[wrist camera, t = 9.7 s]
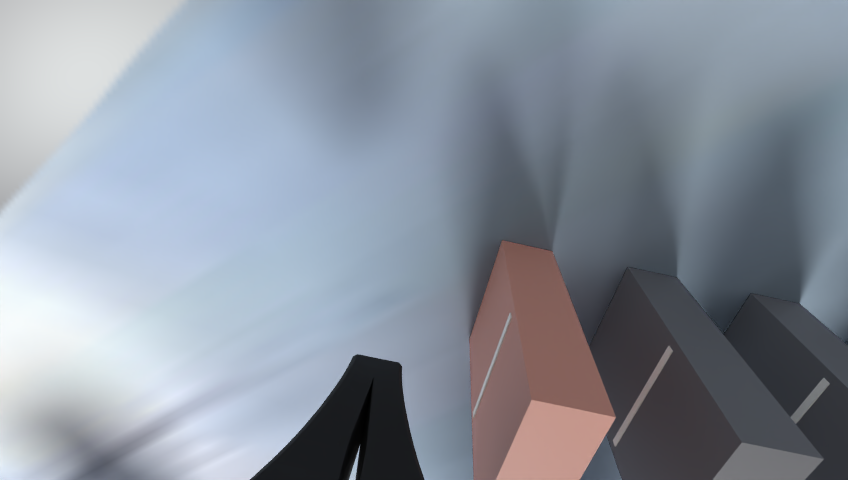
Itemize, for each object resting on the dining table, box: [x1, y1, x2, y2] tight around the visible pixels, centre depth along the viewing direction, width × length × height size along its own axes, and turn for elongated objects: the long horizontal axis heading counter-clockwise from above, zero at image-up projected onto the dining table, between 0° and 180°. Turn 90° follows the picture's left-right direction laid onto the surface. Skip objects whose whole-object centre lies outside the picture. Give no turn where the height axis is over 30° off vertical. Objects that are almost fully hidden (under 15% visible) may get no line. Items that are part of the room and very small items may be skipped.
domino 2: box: [724, 293, 848, 480], centre depth 15 cm, size 2×5×8 cm, turn 169°
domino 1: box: [589, 267, 824, 480], centre depth 15 cm, size 2×5×8 cm, turn 168°
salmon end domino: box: [469, 240, 616, 480], centre depth 15 cm, size 2×5×8 cm, turn 168°
